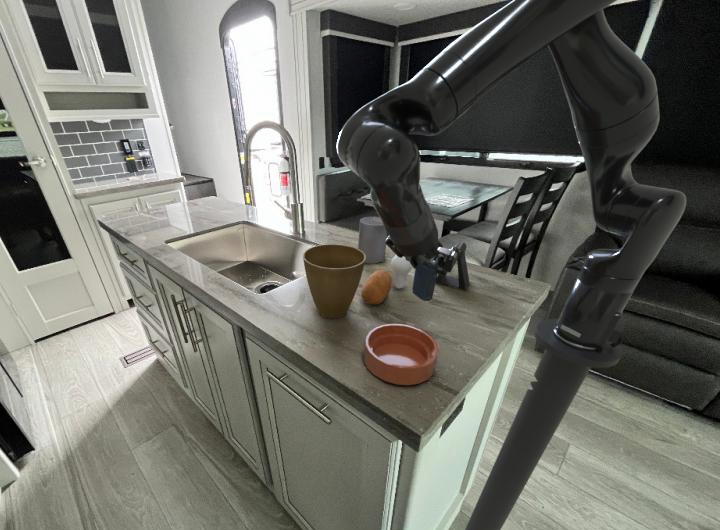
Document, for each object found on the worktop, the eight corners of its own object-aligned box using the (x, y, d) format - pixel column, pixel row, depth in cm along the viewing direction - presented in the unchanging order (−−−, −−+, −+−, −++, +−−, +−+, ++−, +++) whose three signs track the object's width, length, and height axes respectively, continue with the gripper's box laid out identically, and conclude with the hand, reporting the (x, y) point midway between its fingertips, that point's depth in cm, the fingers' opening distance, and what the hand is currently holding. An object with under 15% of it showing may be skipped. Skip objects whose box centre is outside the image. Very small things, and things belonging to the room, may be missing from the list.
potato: (393, 289, 95) (399, 269, 90) (379, 314, 86) (384, 292, 81) (370, 282, 97) (375, 262, 93) (354, 304, 88) (358, 283, 83)
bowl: (445, 361, 67) (450, 342, 65) (412, 400, 58) (416, 379, 56) (387, 334, 76) (389, 316, 73) (350, 364, 67) (351, 345, 64)
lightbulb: (410, 294, 92) (415, 258, 87) (388, 292, 93) (392, 256, 88) (408, 284, 97) (414, 250, 92) (388, 282, 98) (392, 248, 93)
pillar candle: (360, 252, 120) (362, 211, 112) (386, 255, 117) (391, 214, 110) (354, 262, 112) (356, 219, 104) (382, 265, 109) (387, 222, 102)
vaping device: (424, 302, 65) (435, 247, 59) (409, 291, 70) (418, 238, 64) (434, 300, 66) (446, 245, 60) (419, 289, 71) (428, 236, 65)
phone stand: (433, 282, 98) (441, 245, 92) (439, 275, 103) (446, 239, 97) (464, 290, 94) (474, 251, 88) (468, 282, 98) (478, 245, 92)
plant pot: (299, 325, 79) (297, 265, 71) (309, 295, 92) (308, 242, 83) (360, 330, 77) (365, 269, 69) (362, 299, 90) (366, 245, 82)
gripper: (463, 212, 49) (473, 262, 63) (383, 198, 57) (407, 245, 71) (441, 255, 48) (456, 296, 62) (363, 233, 57) (391, 274, 70)
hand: (430, 268), depth 66 cm, fingers closed on vaping device, 5 cm apart
